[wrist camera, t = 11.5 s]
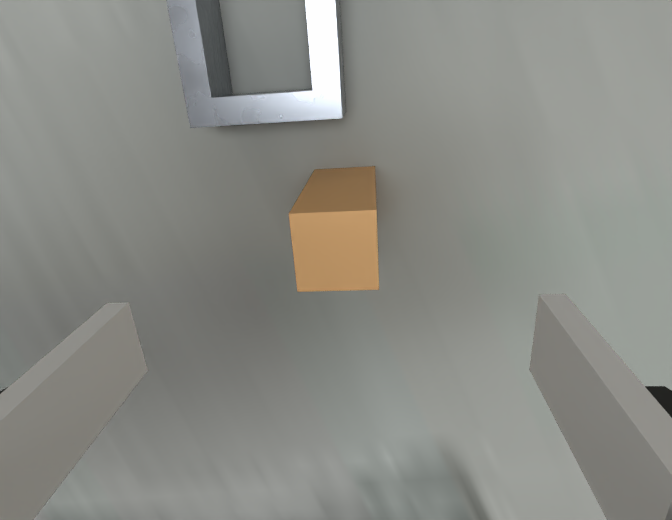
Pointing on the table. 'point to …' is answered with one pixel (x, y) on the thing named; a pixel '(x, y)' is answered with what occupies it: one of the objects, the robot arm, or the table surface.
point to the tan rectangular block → (336, 231)
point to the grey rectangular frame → (266, 107)
